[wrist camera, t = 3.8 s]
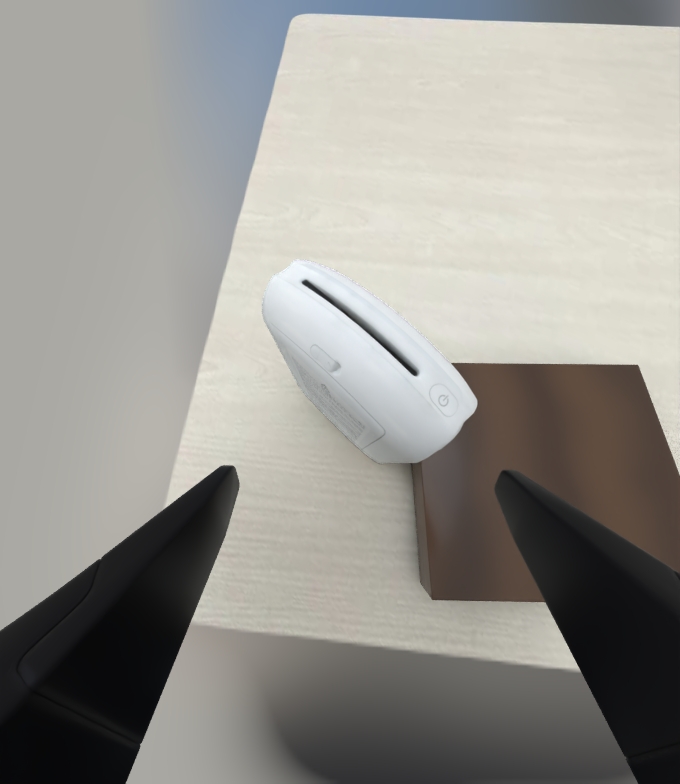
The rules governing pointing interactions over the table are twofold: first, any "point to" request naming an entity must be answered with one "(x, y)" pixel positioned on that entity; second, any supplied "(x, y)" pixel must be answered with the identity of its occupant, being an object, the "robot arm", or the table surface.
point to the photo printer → (365, 365)
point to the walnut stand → (543, 472)
